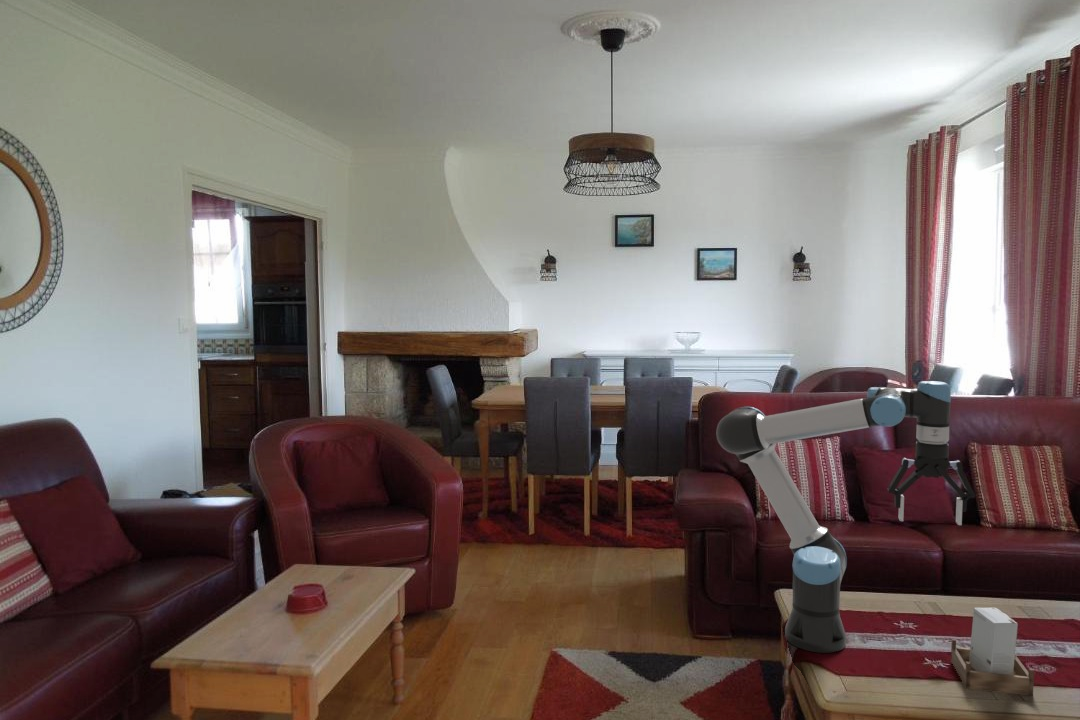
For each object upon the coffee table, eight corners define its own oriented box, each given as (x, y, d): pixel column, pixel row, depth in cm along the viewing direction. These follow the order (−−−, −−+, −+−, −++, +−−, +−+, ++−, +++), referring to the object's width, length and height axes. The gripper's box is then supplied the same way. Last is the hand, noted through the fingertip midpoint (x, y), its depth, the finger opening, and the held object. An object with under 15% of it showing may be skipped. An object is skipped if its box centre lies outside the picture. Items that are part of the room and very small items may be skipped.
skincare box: (968, 665, 178) (970, 606, 177) (992, 665, 178) (995, 605, 177) (990, 684, 170) (992, 622, 169) (1016, 683, 170) (1018, 621, 169)
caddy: (965, 688, 170) (966, 663, 170) (950, 661, 182) (951, 638, 182) (1032, 695, 166) (1034, 670, 166) (1013, 668, 179) (1014, 644, 178)
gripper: (882, 442, 190) (879, 522, 192) (991, 446, 183) (987, 529, 185) (877, 436, 197) (875, 514, 199) (982, 440, 190) (979, 520, 192)
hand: (929, 521), depth 192 cm, fingers open, 13 cm apart
